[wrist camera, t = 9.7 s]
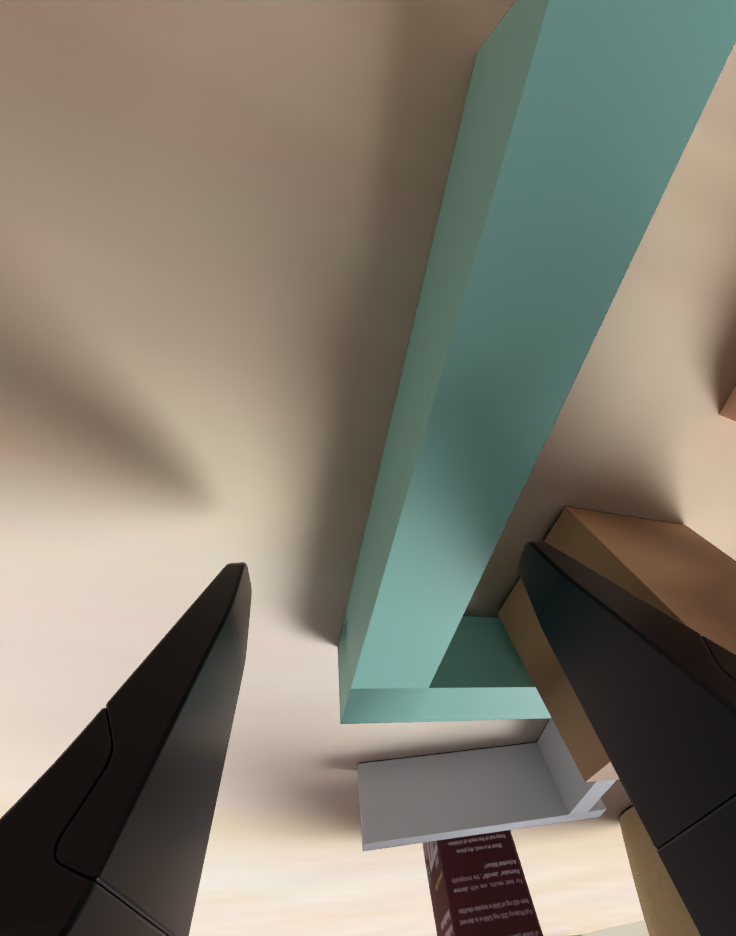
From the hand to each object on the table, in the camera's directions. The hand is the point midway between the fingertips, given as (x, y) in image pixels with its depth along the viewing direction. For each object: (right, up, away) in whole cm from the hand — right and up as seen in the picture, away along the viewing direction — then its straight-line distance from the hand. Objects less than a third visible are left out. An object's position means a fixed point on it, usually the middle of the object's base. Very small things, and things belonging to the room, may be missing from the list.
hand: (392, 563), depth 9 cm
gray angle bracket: (+5, -9, +8) cm, 13 cm away
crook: (+4, +2, +2) cm, 5 cm away
